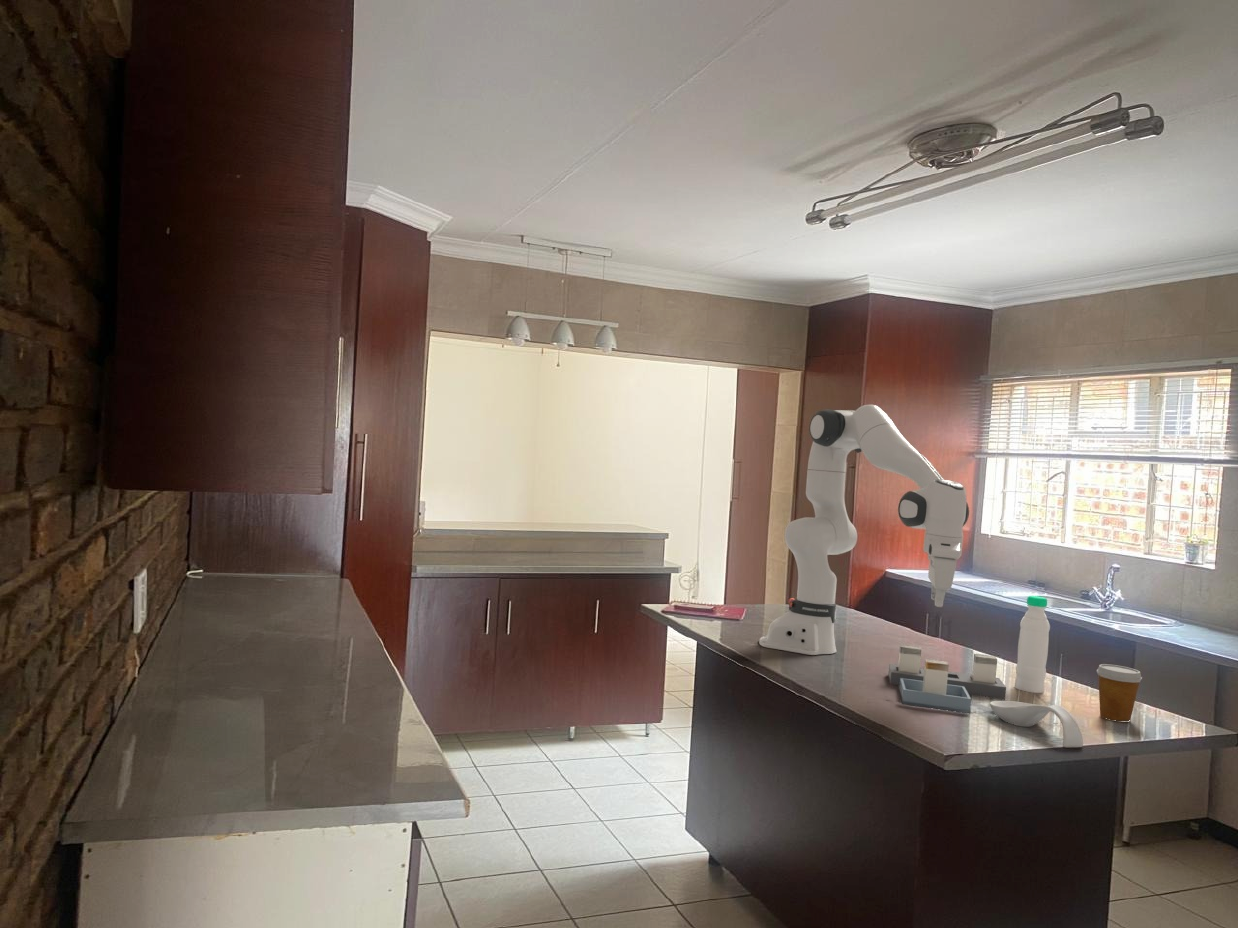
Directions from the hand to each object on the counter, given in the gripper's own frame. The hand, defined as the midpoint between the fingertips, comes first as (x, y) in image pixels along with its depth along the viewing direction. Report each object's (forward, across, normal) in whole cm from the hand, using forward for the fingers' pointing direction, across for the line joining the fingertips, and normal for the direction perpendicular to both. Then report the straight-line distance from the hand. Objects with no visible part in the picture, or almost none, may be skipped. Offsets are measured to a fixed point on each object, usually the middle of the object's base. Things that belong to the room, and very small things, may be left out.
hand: (936, 603), depth 219 cm
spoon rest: (+23, +16, +22) cm, 35 cm away
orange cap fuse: (+22, +4, +1) cm, 23 cm away
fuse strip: (+23, -10, +5) cm, 26 cm away
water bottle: (+23, -21, +27) cm, 41 cm away
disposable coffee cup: (+23, -5, +43) cm, 49 cm away
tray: (+23, +4, +1) cm, 24 cm away
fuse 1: (+22, -10, -4) cm, 25 cm away
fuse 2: (+22, -10, +14) cm, 28 cm away
